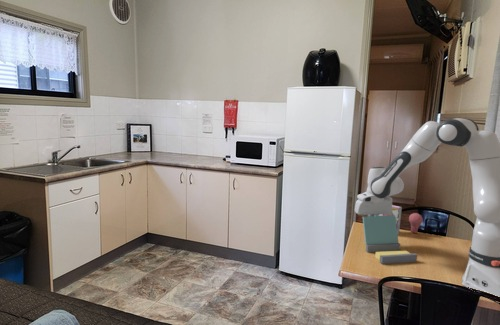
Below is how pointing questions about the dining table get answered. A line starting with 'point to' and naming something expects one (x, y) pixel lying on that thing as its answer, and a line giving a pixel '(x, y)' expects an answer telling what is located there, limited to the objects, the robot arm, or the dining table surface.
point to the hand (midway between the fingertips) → (372, 221)
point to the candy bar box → (397, 212)
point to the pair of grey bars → (391, 258)
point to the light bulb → (415, 222)
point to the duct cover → (380, 229)
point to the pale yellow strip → (389, 253)
